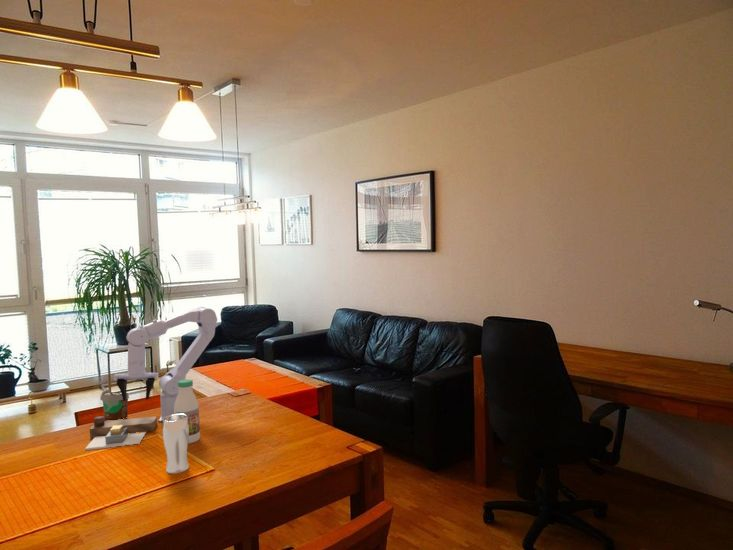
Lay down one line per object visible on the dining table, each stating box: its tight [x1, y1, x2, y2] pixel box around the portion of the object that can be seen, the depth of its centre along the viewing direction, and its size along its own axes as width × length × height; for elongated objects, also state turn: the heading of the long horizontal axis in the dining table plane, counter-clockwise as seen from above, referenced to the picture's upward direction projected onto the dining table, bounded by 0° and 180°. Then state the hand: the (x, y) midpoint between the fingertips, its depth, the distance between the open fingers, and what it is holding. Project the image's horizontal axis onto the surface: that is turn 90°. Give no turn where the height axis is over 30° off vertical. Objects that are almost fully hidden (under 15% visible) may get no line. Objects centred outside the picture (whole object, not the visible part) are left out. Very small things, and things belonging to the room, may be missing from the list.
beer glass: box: [162, 414, 190, 475], centre depth 138 cm, size 7×7×15 cm
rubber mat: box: [84, 432, 147, 451], centre depth 161 cm, size 16×10×1 cm, turn 103°
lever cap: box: [105, 425, 128, 444], centre depth 161 cm, size 5×7×4 cm
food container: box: [99, 389, 130, 421], centre depth 183 cm, size 12×6×10 cm, turn 62°
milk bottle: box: [174, 378, 201, 445], centre depth 160 cm, size 8×8×20 cm
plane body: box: [89, 415, 158, 438], centre depth 170 cm, size 20×7×6 cm, turn 103°
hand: (136, 399), depth 176 cm, fingers open, 7 cm apart
